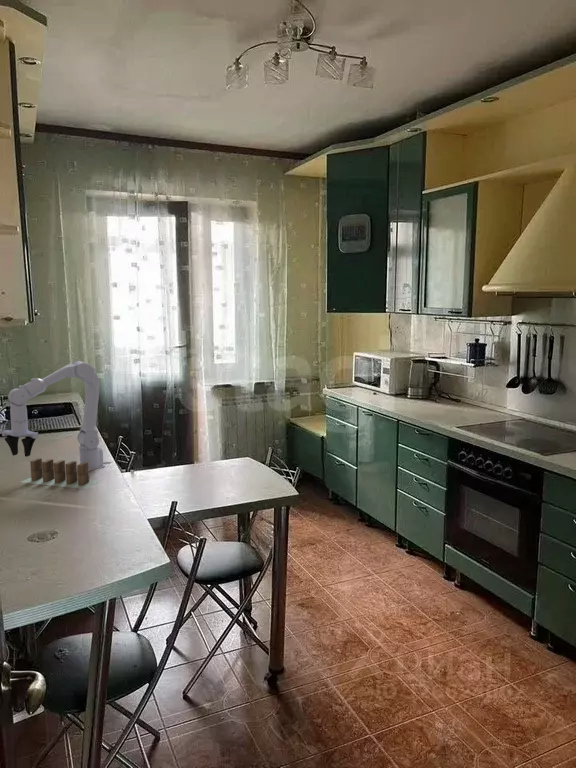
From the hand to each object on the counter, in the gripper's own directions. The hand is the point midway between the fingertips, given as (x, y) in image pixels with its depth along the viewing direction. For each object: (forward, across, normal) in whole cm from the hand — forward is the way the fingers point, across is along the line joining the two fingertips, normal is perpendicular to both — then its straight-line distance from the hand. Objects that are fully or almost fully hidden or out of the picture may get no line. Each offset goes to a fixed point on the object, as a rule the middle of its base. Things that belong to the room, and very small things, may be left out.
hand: (21, 455), depth 221 cm
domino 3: (+9, +16, 0) cm, 19 cm away
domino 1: (+9, +6, 0) cm, 11 cm away
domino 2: (+9, +12, 0) cm, 14 cm away
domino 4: (+9, +22, 0) cm, 23 cm away
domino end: (+9, +26, 0) cm, 28 cm away
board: (+9, +16, 0) cm, 19 cm away
